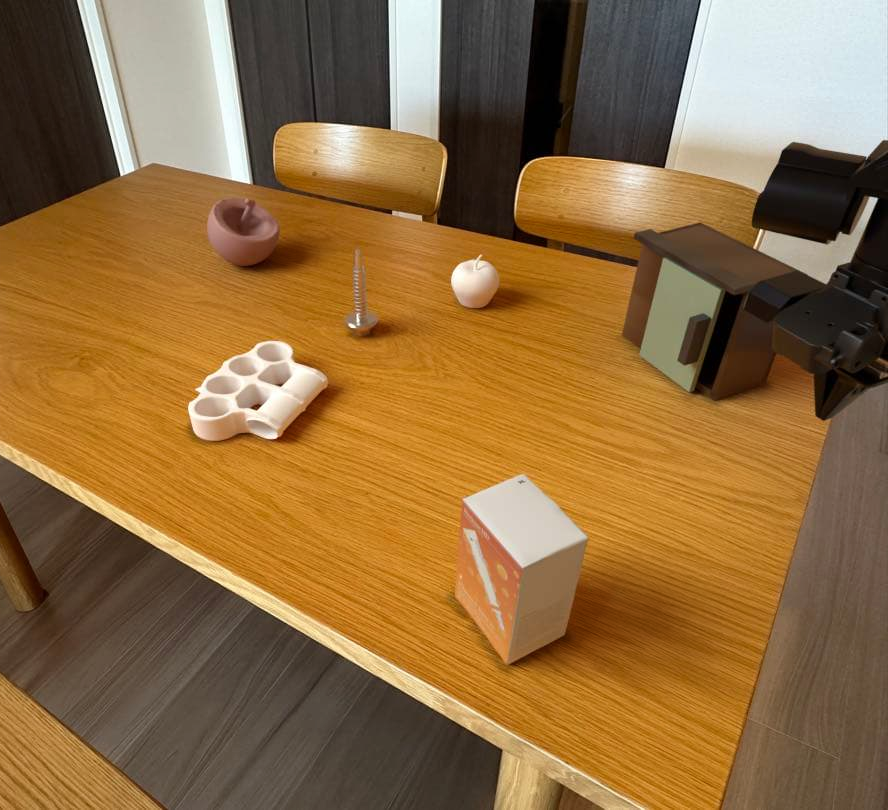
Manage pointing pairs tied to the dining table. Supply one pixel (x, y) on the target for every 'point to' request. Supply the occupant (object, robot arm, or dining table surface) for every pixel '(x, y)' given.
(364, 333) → the screw
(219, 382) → the white brass knuckles
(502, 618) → the small box
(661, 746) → the dining table surface
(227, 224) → the mortar and pestle
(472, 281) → the apple
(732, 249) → the cupboard
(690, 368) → the sliding door
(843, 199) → the robot arm
